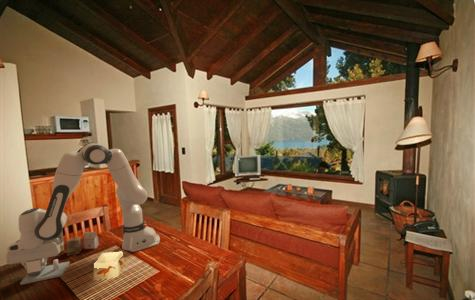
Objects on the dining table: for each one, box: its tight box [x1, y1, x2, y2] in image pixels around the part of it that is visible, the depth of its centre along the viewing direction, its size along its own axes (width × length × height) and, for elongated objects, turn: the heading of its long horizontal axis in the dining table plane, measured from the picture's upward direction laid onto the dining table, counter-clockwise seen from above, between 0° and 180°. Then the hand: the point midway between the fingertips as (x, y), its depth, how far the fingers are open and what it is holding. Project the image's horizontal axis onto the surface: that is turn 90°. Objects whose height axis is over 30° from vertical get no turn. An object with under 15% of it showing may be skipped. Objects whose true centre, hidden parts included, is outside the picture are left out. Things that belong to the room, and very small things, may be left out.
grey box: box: [82, 231, 99, 250], centre depth 133 cm, size 4×7×10 cm, turn 93°
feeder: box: [66, 236, 83, 256], centre depth 127 cm, size 6×5×8 cm
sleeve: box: [26, 258, 45, 276], centre depth 107 cm, size 5×5×7 cm
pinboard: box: [19, 258, 71, 286], centre depth 109 cm, size 16×11×6 cm
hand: (36, 267), depth 107 cm, fingers closed on sleeve, 5 cm apart
